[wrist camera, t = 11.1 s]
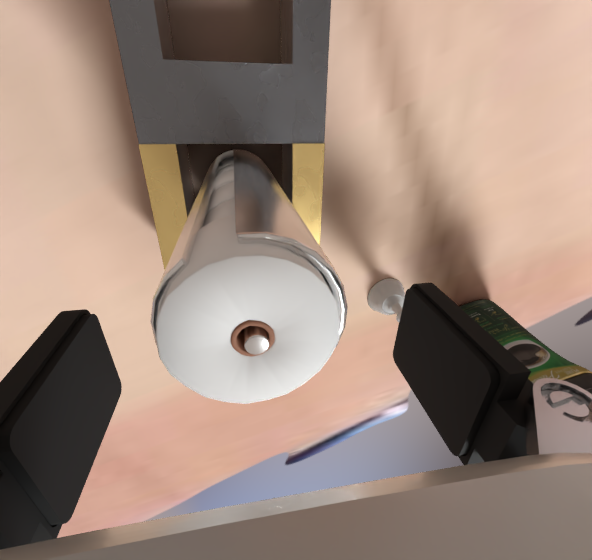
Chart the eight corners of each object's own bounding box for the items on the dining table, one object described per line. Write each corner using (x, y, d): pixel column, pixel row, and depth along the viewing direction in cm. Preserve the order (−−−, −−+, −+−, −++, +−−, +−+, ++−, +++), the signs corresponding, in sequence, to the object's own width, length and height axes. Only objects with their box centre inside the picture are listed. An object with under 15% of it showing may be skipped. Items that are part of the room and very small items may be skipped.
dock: (107, -130, 21) (63, -216, 15) (314, -104, 23) (339, -170, 17) (176, 250, 33) (166, 277, 28) (305, 243, 36) (318, 266, 30)
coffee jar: (434, 353, 48) (537, 474, 32) (429, 314, 44) (543, 430, 28) (493, 330, 48) (625, 440, 32) (492, 289, 44) (644, 391, 28)
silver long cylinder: (205, 212, 32) (147, 423, 10) (207, 144, 29) (132, 234, 7) (268, 219, 33) (335, 415, 12) (275, 154, 31) (383, 255, 9)
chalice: (396, 321, 44) (488, 438, 28) (352, 314, 42) (426, 436, 26) (419, 275, 41) (537, 377, 25) (374, 266, 39) (471, 369, 23)
